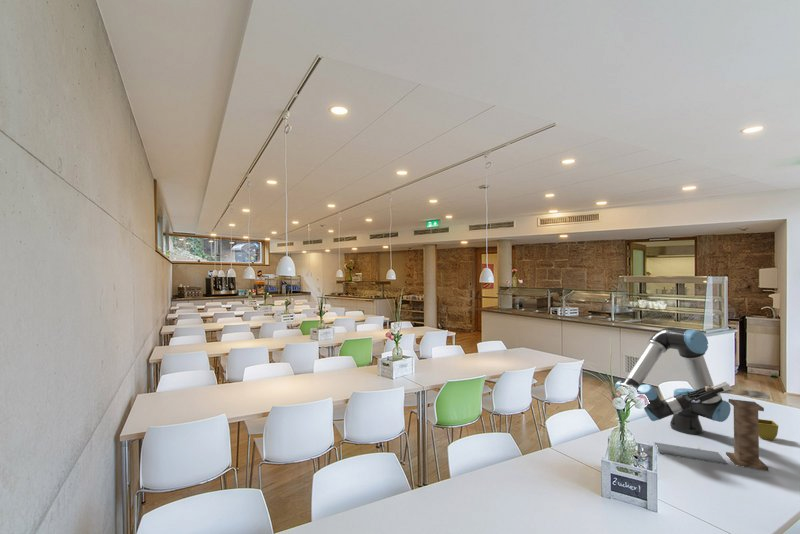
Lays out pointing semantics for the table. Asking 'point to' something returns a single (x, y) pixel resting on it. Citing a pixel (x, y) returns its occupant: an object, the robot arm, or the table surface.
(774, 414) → the table surface
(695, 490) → the table surface
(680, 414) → the robot arm
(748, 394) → the bar
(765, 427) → the flower pot
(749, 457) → the pedestal
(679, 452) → the mat
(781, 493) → the table surface
